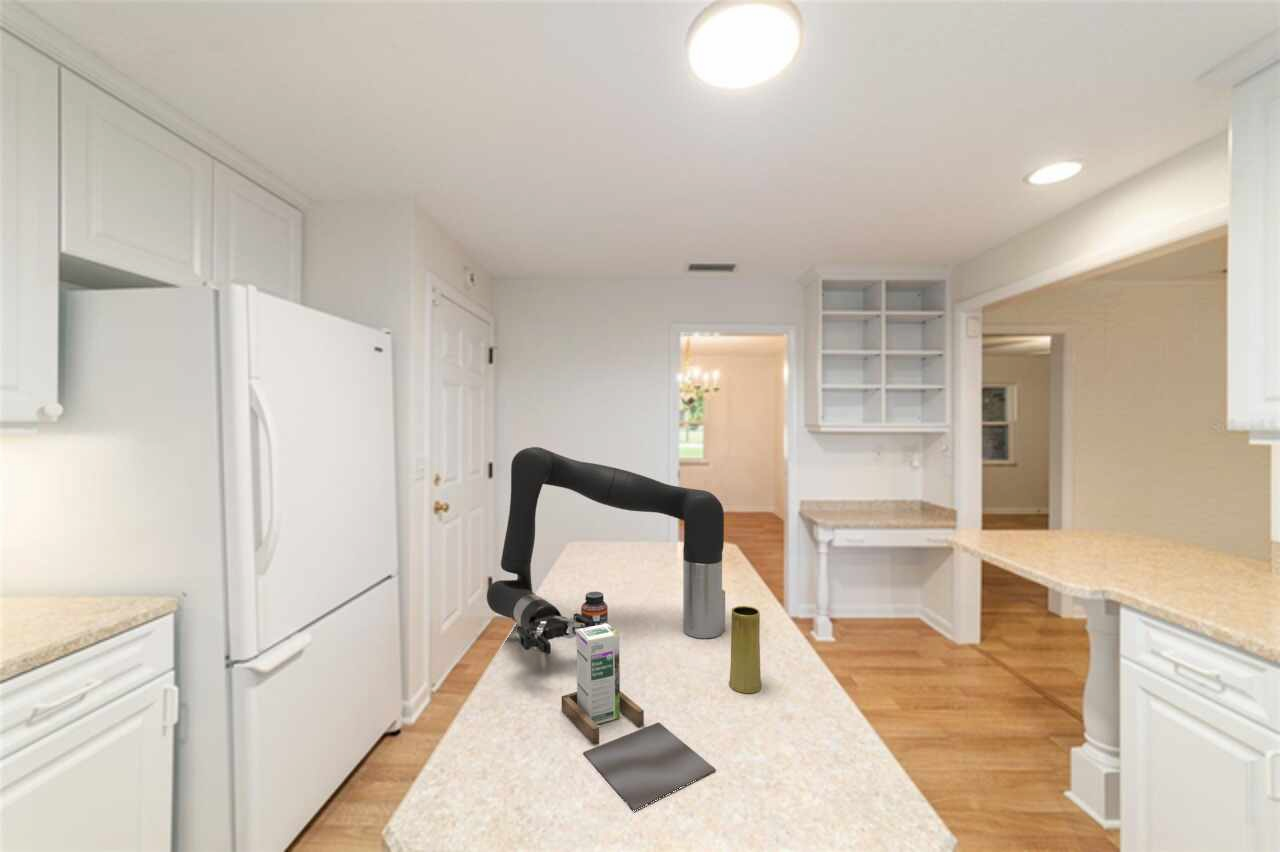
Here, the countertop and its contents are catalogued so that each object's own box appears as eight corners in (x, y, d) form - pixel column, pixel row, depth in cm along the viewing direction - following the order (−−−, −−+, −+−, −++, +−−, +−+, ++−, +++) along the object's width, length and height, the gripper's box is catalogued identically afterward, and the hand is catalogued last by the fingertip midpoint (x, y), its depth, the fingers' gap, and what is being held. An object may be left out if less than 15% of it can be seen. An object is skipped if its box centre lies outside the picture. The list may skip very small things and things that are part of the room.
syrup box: (588, 728, 85) (588, 639, 85) (576, 710, 90) (576, 627, 90) (620, 719, 87) (620, 633, 87) (606, 702, 93) (606, 621, 93)
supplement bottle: (603, 651, 113) (603, 599, 113) (577, 648, 114) (577, 597, 114) (610, 639, 119) (610, 590, 119) (585, 637, 120) (585, 589, 120)
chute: (549, 715, 89) (549, 700, 89) (619, 691, 96) (619, 677, 96) (634, 812, 67) (634, 792, 67) (715, 771, 74) (715, 753, 74)
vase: (763, 680, 100) (763, 607, 100) (759, 696, 95) (760, 618, 94) (731, 675, 102) (731, 603, 102) (726, 690, 97) (726, 614, 96)
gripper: (504, 605, 107) (534, 632, 94) (566, 593, 115) (603, 616, 101) (504, 642, 107) (534, 673, 94) (566, 626, 115) (603, 654, 102)
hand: (570, 643), depth 98 cm, fingers open, 8 cm apart
